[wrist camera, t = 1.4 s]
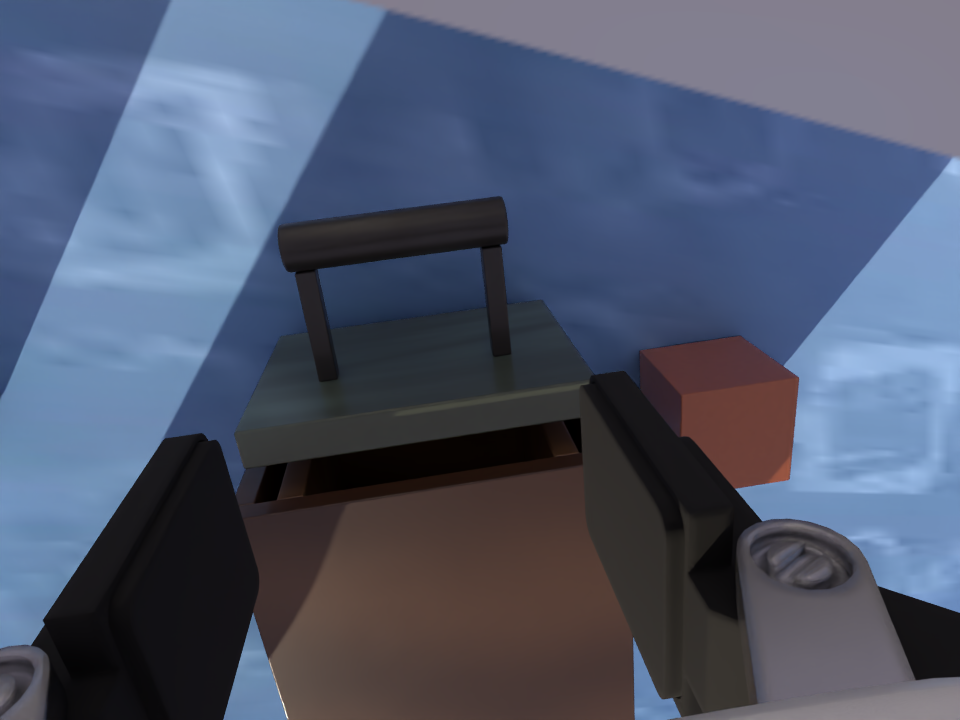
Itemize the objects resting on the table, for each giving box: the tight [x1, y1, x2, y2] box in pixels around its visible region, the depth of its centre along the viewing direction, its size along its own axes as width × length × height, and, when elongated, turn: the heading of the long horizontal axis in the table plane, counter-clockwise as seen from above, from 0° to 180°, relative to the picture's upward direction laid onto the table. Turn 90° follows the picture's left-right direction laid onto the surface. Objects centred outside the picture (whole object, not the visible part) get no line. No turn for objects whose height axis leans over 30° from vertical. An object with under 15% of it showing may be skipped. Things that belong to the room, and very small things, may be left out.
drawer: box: [234, 196, 594, 500], centre depth 23 cm, size 18×10×8 cm, turn 6°
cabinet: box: [236, 418, 635, 720], centre depth 25 cm, size 14×11×9 cm
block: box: [640, 336, 799, 489], centre depth 27 cm, size 4×4×4 cm
